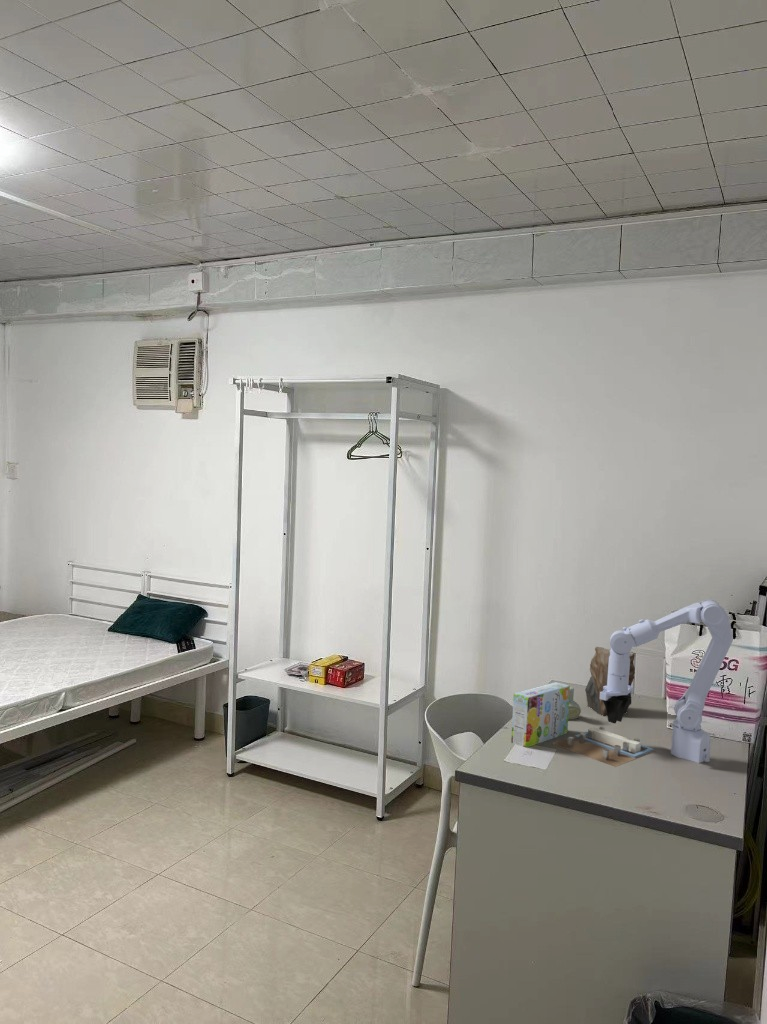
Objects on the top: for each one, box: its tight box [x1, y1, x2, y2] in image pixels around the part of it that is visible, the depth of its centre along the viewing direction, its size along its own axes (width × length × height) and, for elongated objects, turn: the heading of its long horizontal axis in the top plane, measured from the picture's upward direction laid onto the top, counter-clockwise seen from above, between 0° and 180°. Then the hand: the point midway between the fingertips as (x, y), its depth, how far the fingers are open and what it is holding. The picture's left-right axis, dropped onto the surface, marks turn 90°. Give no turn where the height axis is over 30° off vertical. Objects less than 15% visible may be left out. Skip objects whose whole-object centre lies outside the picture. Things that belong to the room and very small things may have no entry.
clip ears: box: [567, 726, 641, 760], centre depth 210 cm, size 12×17×2 cm
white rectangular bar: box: [587, 726, 642, 753], centre depth 213 cm, size 15×3×2 cm, turn 42°
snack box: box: [510, 681, 571, 748], centre depth 215 cm, size 21×6×15 cm, turn 134°
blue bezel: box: [573, 730, 654, 758], centre depth 213 cm, size 19×10×1 cm, turn 42°
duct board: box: [550, 735, 656, 768], centre depth 210 cm, size 20×21×1 cm
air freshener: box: [568, 685, 582, 720], centre depth 237 cm, size 11×8×10 cm
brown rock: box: [585, 646, 636, 717], centre depth 249 cm, size 13×13×20 cm
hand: (614, 721), depth 213 cm, fingers open, 2 cm apart
